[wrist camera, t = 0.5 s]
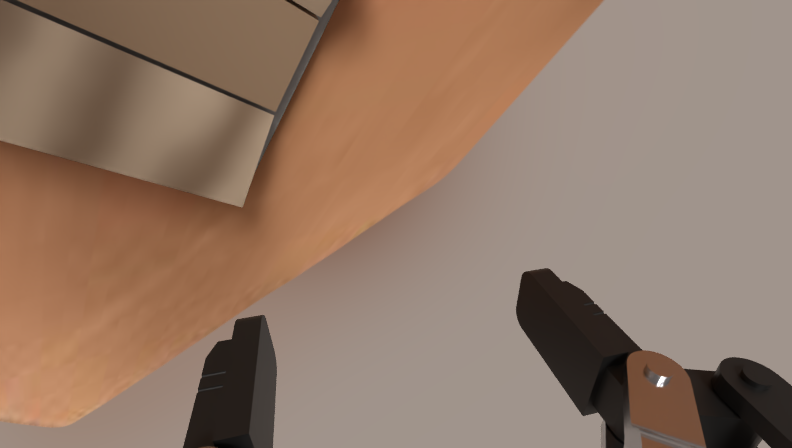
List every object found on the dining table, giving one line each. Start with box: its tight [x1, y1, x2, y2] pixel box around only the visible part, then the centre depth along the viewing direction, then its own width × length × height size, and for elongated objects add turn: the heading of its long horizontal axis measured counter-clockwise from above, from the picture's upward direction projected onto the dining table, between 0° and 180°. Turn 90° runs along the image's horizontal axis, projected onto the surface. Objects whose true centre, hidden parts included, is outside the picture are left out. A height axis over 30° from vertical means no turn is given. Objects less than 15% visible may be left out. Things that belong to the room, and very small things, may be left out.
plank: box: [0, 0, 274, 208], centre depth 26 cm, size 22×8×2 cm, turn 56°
